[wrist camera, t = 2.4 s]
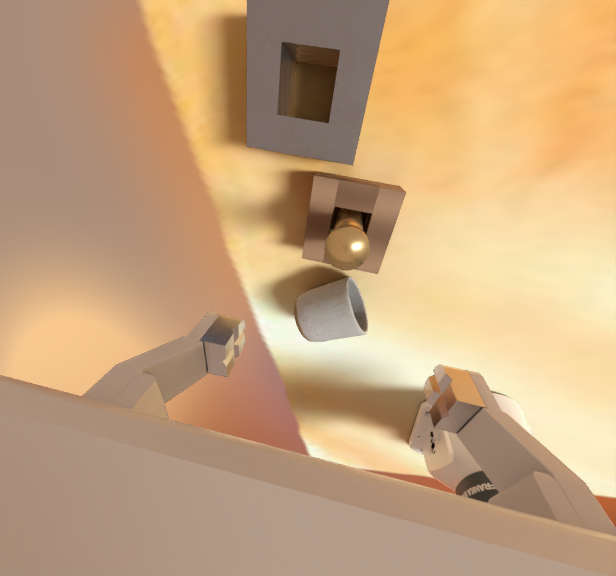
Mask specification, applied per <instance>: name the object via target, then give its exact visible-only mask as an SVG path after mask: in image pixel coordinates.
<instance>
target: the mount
mask: <svg viewBox="0 0 616 576" xmlns="http://www.w3.org/2000/svg"><path fill="white" fill-rule="evenodd" d="M405 195H406V192H405V191H404V190H403V189H402V188H401V187H400V186H395V185H390V184H384V183H379V182H373V181H368V180H362V179H357V178H351V177H346V176H340V175H335V174H329V173H324V172H318V173H317V174H315V175H314V179H313V186H312V193H311V200H310V207H309V213H308V220H307V227H306V234H305V241H304V248H303V255H302V258H303V259H308V260H313V261H318V262H322V263H327V264H330V263H329V262H328V260H327V258H326V256H325V252H324V247H325V243H326V239H327V237H328V235H329V234H330V229H331V224H332V219H333V214H334V209H335V207H340V208H346V209H351V210H356V211H361V212H367V213H368V216H367V220H366V223H365V227H364V230H363V231H364V232H365V233H366V235H367V237H368V240H369V246H370V251H369V255H368V258H367V260H366V261H365V262H364V263H363V264H362V265H361V266H360V267H358V268H356V270H361V271H365V272H370V273H375V274H378V272H379V269H380V266H381V263H382V260H383V258H384V255H385V252H386V249H387V246H388V243H389V240H390V237H391V235H392V232H393V229H394V226H395V223H396V220H397V217H398V215H399V212H400V209H401V206H402V203H403V200H404V197H405Z"/></svg>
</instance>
